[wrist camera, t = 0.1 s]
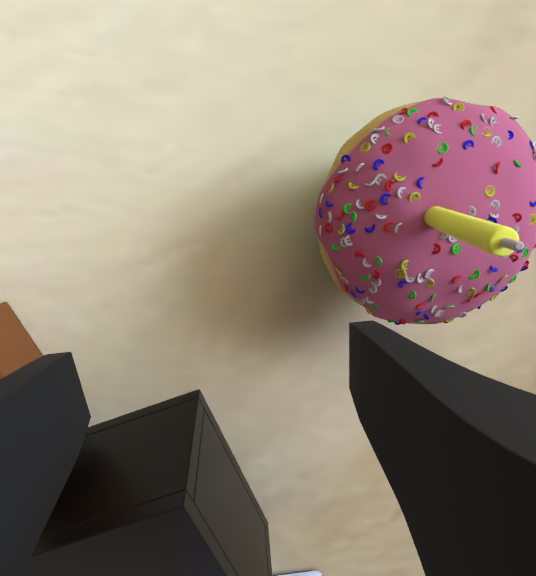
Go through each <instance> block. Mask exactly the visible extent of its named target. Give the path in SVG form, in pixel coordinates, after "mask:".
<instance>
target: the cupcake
mask: <svg viewBox="0 0 536 576" xmlns="http://www.w3.org/2000/svg"><path fill="white" fill-rule="evenodd" d="M517 118H518V116H510V115H509V114H508V113H506V112H505V111H504V110H502V109H500V108H497V107H493V106H481V105H475V104H470V103H466V102H462V101H458V100H453V99H448V98H446V97H443V98H435V99H430V100H426V101H421V102H415V103H411V104H407V105H403V106H400V107H397V108H394V109H392V110H390V111H387V112H385V113H383V114H381V115H379V116H378V117H376V118H375V119H373V120H372V121H371V122H369V123H368V124H367V125H366V126H365V127H363V128H362V129H361V130H360V131H358V132H357V133H356V134H355V135H353V136H352V137H351V138H350V139H349V140H348V141H346V143H345V144H344V145H343V146H342V148H341V149H340V151H339V153H338V155H337V157H336V159H335V161H334V163H333V166H332V168H331V170H330V172H329V175H328V177H327V179H326V181H325V183H324V185H323V187H322V189H321V192H320V194H319V197H318V201H317V205H316V211H315V230H316V234H317V237H318V241H319V249H320V253H321V256H322V258H323V260H324V262H325V264H326V266H327V268H328V270H329V272H330V274H331V276H332V278H333V280H334V282H335V283H336V285H337V286H338V288H339V289H340V290H341V291H342V292H343V293H344V294H345V295H347V296H348V297H349V298H351V299H352V300H353V301H355V302H357V303H358V304H360V305H362V306H364V307H365V308H366V310H367V312H368V313H369V314H372V315H373V316H375V317H378V318H381V319H385V320H388V322H394V323H395V324H396V325H399V324H401V323H402V324H406V323H413V324H436V323H441V322H444V323H448V322H451V321H452V320H453V319H454V318H456V317H465V316H466V313H467V312H469V311H471V310H473V309H475V308H477V307H478V309H480V307H481V305H482V304H484V303H485V302H487V301H488V300H490V301H492V300H494V299H495V297H496V296H497V295H498V294H499V292H502V291H504V290H506V289H507V288H508V286H506V285H507V284H508V283H512V282H513V281H514V280H515V279H516V277H517V275H518V273H519V271H523V270H526V269H527V268H528V265H529V261H527V260H528V258H529V256H530V254H531V252H532V251H533V249H534V248H535V247H536V149H535V147H536V146H534V145H533V144H535V145H536V141H533V142H531V140H530V139H529V137H528V136H527V134H526V133H525V132H524V130H523V129H522V128H521V127H520V125H519V124H518V123H517V122H516V121H515V120H514V119H517ZM526 263H527V264H526ZM525 264H526V265H525ZM504 288H505V289H504ZM502 289H503V290H502ZM463 314H464V315H463ZM461 315H462V316H461ZM397 322H398V323H397ZM399 322H400V323H399Z"/></svg>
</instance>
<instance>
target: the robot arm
mask: <svg viewBox="0 0 536 576" xmlns="http://www.w3.org/2000/svg"><path fill="white" fill-rule="evenodd" d="M349 388H350V391H351V395H352V398H353V401H354V404H355V407H356V410H357V413H358V416H359V419H360V422H361V424H362V426H363V429H364V431H365V433H366V435H367V437H368V439H369V441H370V443H371V446H372V448H373V450H374V452H375V454H376V456H377V458H378V460H379V462H380V464H381V466H382V469H383V471H384V473H385V475H386V477H387V479H388V481H389V483H390V485H391V487H392V489H393V491H394V494H395V496H396V498H397V500H398V502H399V505H400V507H401V509H402V512H403V514H404V517H405V519H406V522H407V525H408V527H409V530H410V533H411V536H412V538H413V541H414V544H415V547H416V549H417V552H418V555H419V558H420V560H421V563H422V566H423V569H424V572H425V575H426V576H536V395H535V394H532V393H529V392H526V391H523V390H520V389H518V388H515V387H512V386H509V385H507V384H504V383H501V382H499V381H496V380H494V379H491V378H488V377H486V376H483V375H481V374H478V373H476V372H474V371H471V370H469V369H467V368H465V367H462V366H460V365H458V364H456V363H454V362H452V361H449V360H447V359H445V358H443V357H441V356H439V355H437V354H435V353H433V352H431V351H429V350H427V349H425V348H424V347H422V346H420V345H418V344H416V343H414V342H412V341H411V340H409V339H407V338H405V337H403V336H402V335H400V334H398V333H396V332H394V331H392V330H391V329H389V328H387V327H385V326H383V325H381V324H379V323H377V322H375V321H363V322H353V323H349ZM90 417H91V416H90V413H89V410H88V406H87V403H86V400H85V396H84V393H83V390H82V386H81V383H80V380H79V376H78V373H77V370H76V367H75V363H74V360H73V357H72V353H71V352H66V353H56V354H47V355H45V356H42V357H40V358H38V359H36V360H34V361H32V362H30V363H28V364H26V365H24V366H23V367H21V368H19V369H17V370H16V371H14V372H12V373H10V374H9V375H7V376H5V377H4V378H2V379H0V576H24V574H25V571H26V569H27V566H28V563H29V561H30V559H31V556H32V554H33V552H34V549H35V547H36V545H37V542H38V540H39V538H40V536H41V534H42V532H43V530H44V528H45V525H46V523H47V521H48V519H49V517H50V515H51V513H52V511H53V509H54V507H55V505H56V502H57V500H58V498H59V496H60V494H61V492H62V490H63V488H64V486H65V484H66V481H67V479H68V477H69V475H70V473H71V471H72V469H73V466H74V464H75V462H76V460H77V458H78V455H79V453H80V450H81V447H82V444H83V441H84V438H85V435H86V431H87V428H88V424H89V421H90ZM277 576H322V574H321V572H319V571H307V572H300V573H292V574H284V575H277Z"/></svg>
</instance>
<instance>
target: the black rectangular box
mask: <svg viewBox="0 0 536 576" xmlns="http://www.w3.org/2000/svg"><path fill="white" fill-rule="evenodd" d="M24 576H272V568H271V556H270V544H269V533H268V522H267V520H266V518H265V516H264V514H263V512H262V510H261V508H260V506H259V504H258V502H257V500H256V498H255V497H254V495H253V493H252V491H251V489H250V487H249V485H248V483H247V481H246V479H245V477H244V475H243V473H242V471H241V469H240V467H239V465H238V463H237V461H236V459H235V458H234V456H233V454H232V452H231V450H230V448H229V446H228V444H227V442H226V440H225V438H224V436H223V434H222V432H221V430H220V428H219V426H218V424H217V422H216V420H215V418H214V417H213V415H212V413H211V411H210V409H209V407H208V405H207V403H206V401H205V399H204V397H203V395H202V393H201V391H200V390H196V391H193V392H190V393H187V394H184V395H181V396H178V397H176V398H173V399H170V400H167V401H164V402H161V403H158V404H155V405H152V406H149V407H147V408H144V409H141V410H138V411H135V412H132V413H129V414H126V415H123V416H121V417H118V418H115V419H112V420H109V421H106V422H103V423H100V424H97V425H94V426H92V427H89V428H87V431H86V435H85V438H84V441H83V444H82V447H81V450H80V453H79V455H78V458H77V460H76V462H75V464H74V466H73V469H72V471H71V473H70V475H69V477H68V479H67V481H66V484H65V486H64V488H63V490H62V492H61V494H60V496H59V498H58V500H57V502H56V505H55V507H54V509H53V511H52V513H51V515H50V517H49V519H48V521H47V523H46V525H45V528H44V530H43V532H42V534H41V536H40V538H39V540H38V542H37V545H36V547H35V549H34V552H33V554H32V556H31V559H30V561H29V563H28V566H27V569H26V571H25V574H24Z"/></svg>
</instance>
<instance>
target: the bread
mask: <svg viewBox="0 0 536 576" xmlns="http://www.w3.org/2000/svg"><path fill="white" fill-rule="evenodd" d="M42 356H43V355H42V353H41V352H40V350H39V349H38V347H37V346H36V345H35V343H34V342H33V340H32V339H31V337H30V336H29V334H28V333H27V331H26V330H25V328H24V327H23V325H22V324H21V322H20V321H19V319H18V318H17V316H16V315H15V313H14V312H13V310H12V309H11V307H10V306H9V304H8V303H7V302H3V303H0V379H2V378H4V377H5V376H7V375H9V374H10V373H12V372H14V371H16V370H17V369H19V368H21V367H23V366H24V365H26V364H28V363H30V362H32V361H34V360H36V359H38V358H40V357H42Z"/></svg>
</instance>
